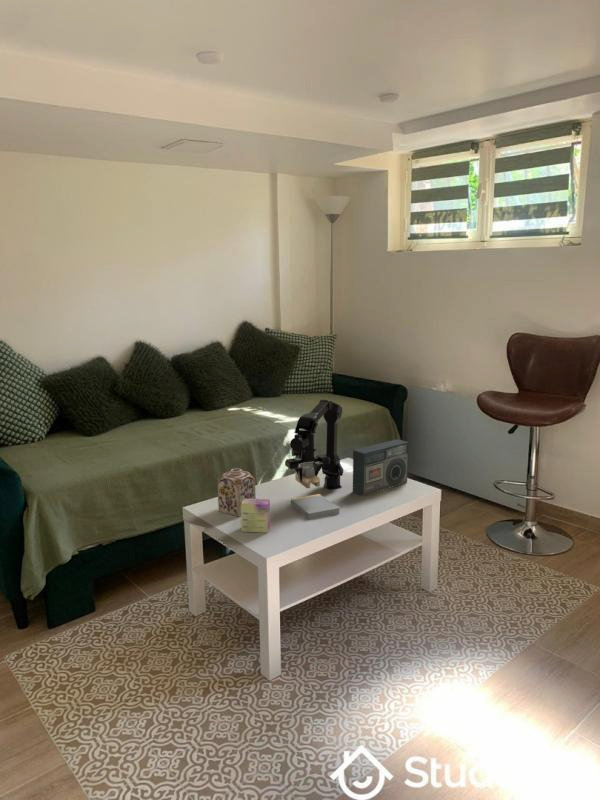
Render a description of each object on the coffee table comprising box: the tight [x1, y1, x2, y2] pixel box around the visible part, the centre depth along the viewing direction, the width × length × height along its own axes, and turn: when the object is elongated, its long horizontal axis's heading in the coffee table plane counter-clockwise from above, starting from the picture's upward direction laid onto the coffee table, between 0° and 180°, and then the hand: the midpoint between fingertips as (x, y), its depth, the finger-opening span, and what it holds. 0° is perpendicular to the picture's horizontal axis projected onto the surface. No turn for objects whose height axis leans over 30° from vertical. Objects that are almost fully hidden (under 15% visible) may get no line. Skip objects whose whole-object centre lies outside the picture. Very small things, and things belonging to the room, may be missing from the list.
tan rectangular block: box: [294, 471, 321, 489], centre depth 259 cm, size 6×12×4 cm, turn 24°
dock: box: [290, 493, 340, 520], centre depth 257 cm, size 14×18×2 cm
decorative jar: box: [217, 468, 257, 518], centre depth 255 cm, size 12×12×18 cm
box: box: [240, 498, 271, 534], centre depth 236 cm, size 10×6×12 cm, turn 84°
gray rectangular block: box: [301, 465, 315, 478], centre depth 259 cm, size 4×6×3 cm, turn 24°
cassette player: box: [352, 438, 410, 497], centre depth 282 cm, size 29×7×20 cm, turn 128°
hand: (307, 480), depth 259 cm, fingers closed on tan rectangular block, 6 cm apart
